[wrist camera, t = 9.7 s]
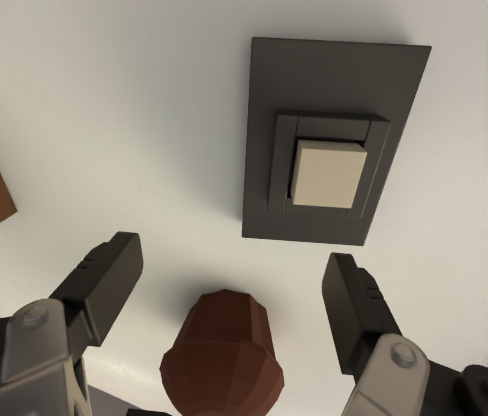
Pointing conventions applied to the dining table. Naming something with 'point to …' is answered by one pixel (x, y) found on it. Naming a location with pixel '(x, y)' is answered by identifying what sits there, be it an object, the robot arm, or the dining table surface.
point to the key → (326, 173)
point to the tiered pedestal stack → (323, 128)
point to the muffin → (223, 359)
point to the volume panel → (5, 202)
